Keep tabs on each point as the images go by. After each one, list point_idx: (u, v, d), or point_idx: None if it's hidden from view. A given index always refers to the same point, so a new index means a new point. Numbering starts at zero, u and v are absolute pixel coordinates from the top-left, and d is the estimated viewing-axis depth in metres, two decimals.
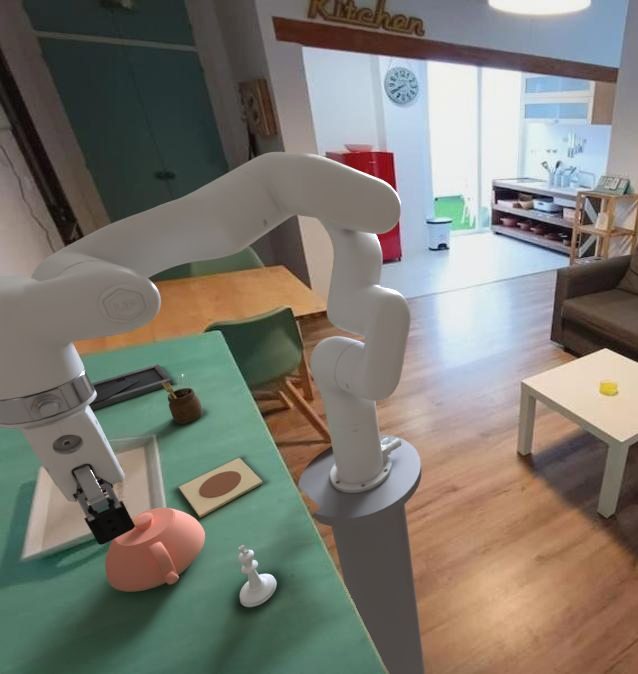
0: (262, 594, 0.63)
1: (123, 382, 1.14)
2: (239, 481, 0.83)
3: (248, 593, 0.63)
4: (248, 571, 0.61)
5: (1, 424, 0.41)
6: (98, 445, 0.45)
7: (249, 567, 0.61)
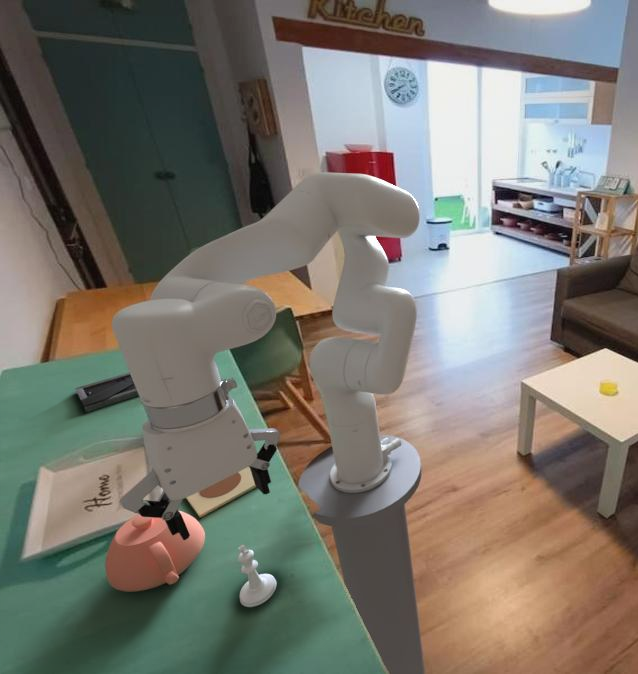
0: (262, 594, 0.63)
1: (123, 382, 1.14)
2: (239, 481, 0.83)
3: (248, 593, 0.63)
4: (248, 571, 0.61)
5: (217, 415, 0.49)
6: None
7: (249, 567, 0.61)
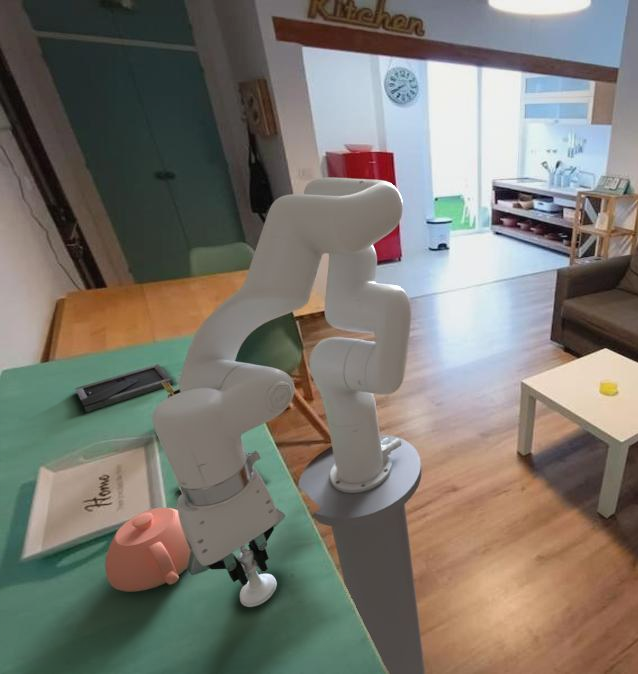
0: (262, 594, 0.63)
1: (123, 382, 1.14)
2: None
3: (248, 593, 0.63)
4: (248, 571, 0.61)
5: (243, 489, 0.54)
6: None
7: (249, 567, 0.61)
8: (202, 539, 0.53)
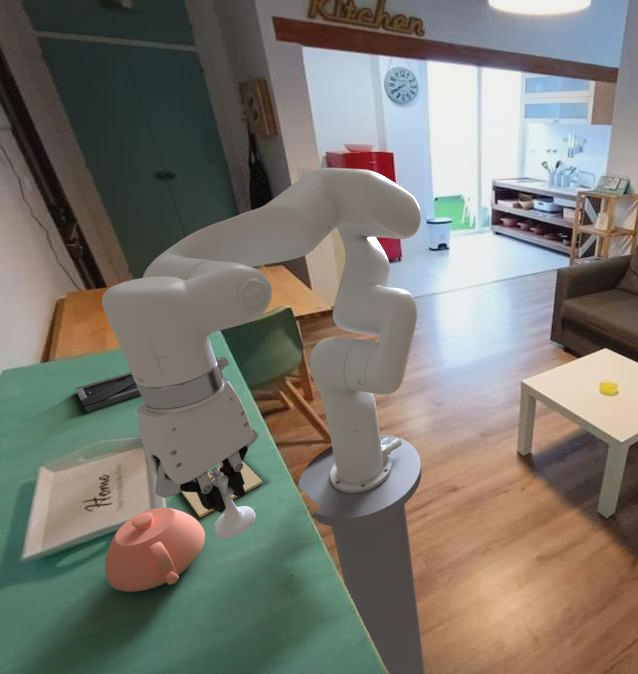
0: (242, 522, 0.57)
1: (123, 382, 1.14)
2: None
3: (225, 524, 0.57)
4: (224, 497, 0.55)
5: (218, 391, 0.49)
6: None
7: (225, 492, 0.55)
8: (175, 450, 0.47)
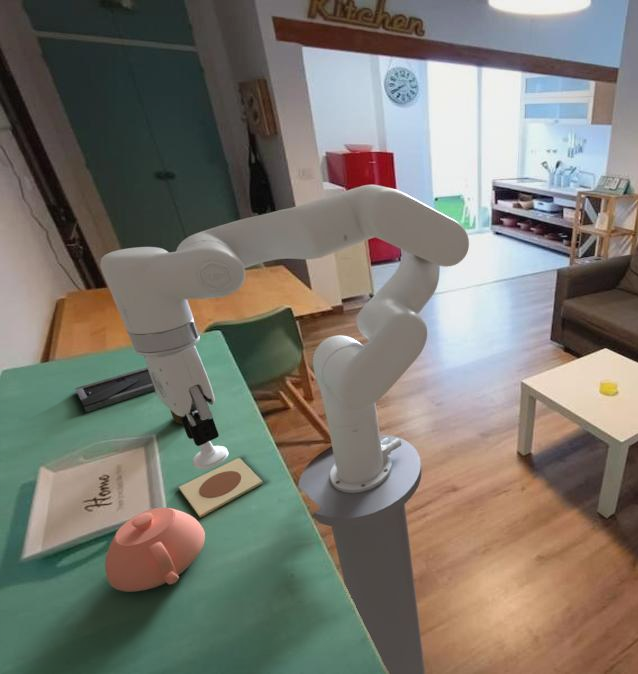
0: (221, 448, 0.71)
1: (123, 382, 1.14)
2: (239, 481, 0.83)
3: (214, 455, 0.69)
4: None
5: None
6: None
7: None
8: None
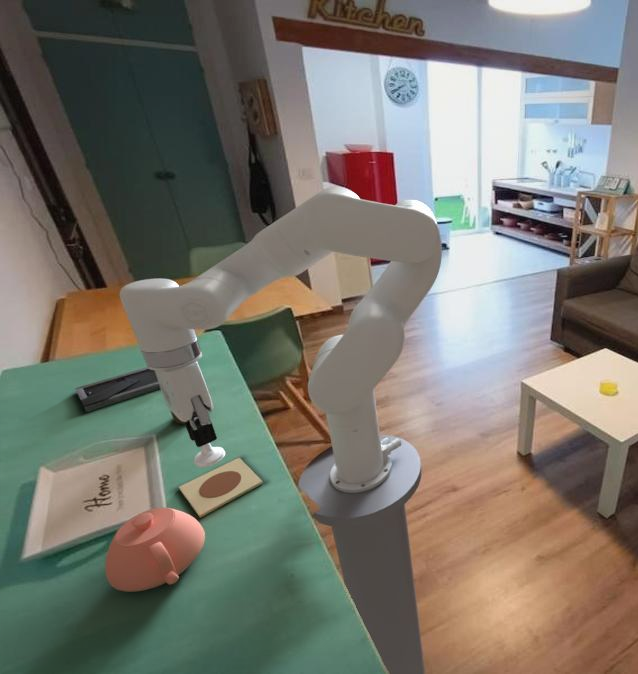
0: (219, 449, 0.81)
1: (123, 382, 1.14)
2: (239, 481, 0.83)
3: (212, 455, 0.79)
4: None
5: None
6: None
7: None
8: (206, 385, 0.72)
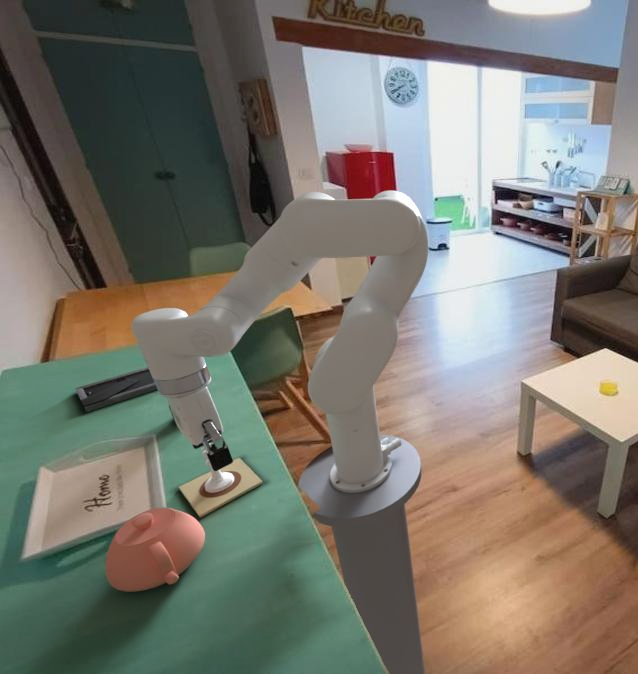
0: (228, 474, 0.84)
1: (123, 382, 1.14)
2: (239, 481, 0.83)
3: (222, 481, 0.82)
4: None
5: None
6: None
7: None
8: None
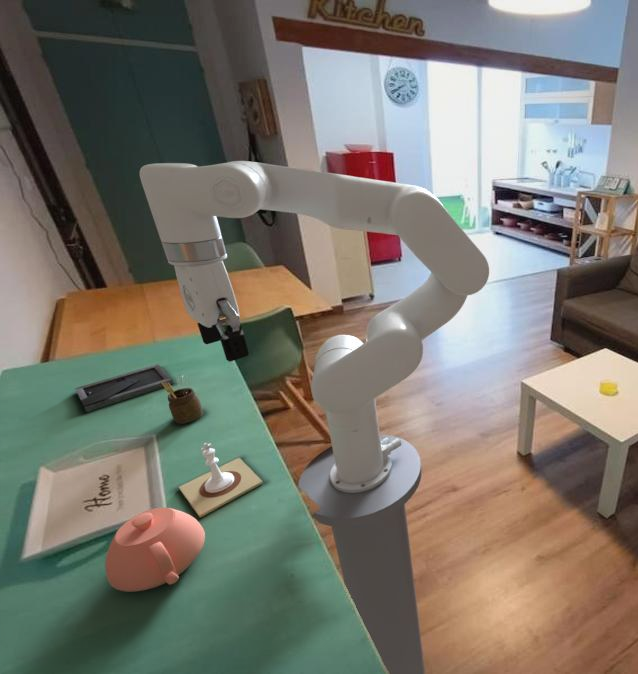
0: (228, 474, 0.84)
1: (123, 382, 1.14)
2: (239, 481, 0.83)
3: (222, 481, 0.82)
4: (217, 459, 0.81)
5: None
6: None
7: (214, 458, 0.80)
8: (232, 289, 0.66)
